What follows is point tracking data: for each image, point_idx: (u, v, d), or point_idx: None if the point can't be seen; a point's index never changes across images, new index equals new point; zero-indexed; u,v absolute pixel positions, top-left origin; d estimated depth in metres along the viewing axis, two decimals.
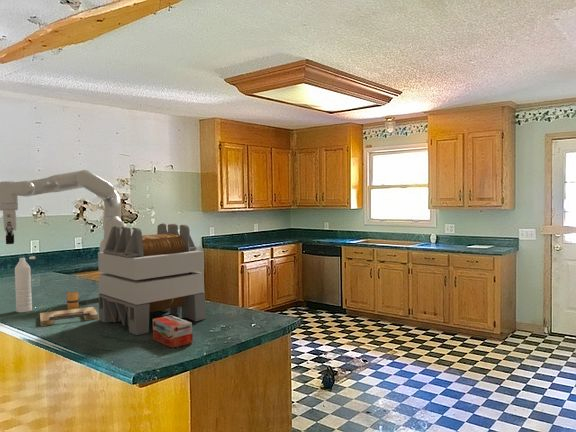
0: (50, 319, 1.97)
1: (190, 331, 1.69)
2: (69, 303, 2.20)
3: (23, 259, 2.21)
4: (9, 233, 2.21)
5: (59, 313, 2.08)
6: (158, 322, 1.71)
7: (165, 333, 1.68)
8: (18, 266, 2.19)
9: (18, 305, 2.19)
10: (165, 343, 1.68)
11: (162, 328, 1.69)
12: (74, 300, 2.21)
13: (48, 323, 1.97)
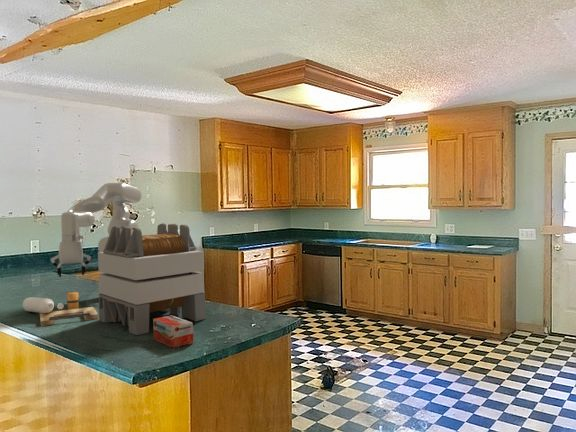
0: (50, 319, 1.97)
1: (191, 331, 1.69)
2: (69, 303, 2.20)
3: (50, 308, 2.05)
4: (87, 263, 2.25)
5: (59, 313, 2.08)
6: (159, 322, 1.71)
7: (166, 332, 1.68)
8: (42, 309, 2.06)
9: (25, 308, 2.17)
10: (166, 343, 1.68)
11: (162, 328, 1.69)
12: (74, 300, 2.21)
13: (48, 323, 1.97)
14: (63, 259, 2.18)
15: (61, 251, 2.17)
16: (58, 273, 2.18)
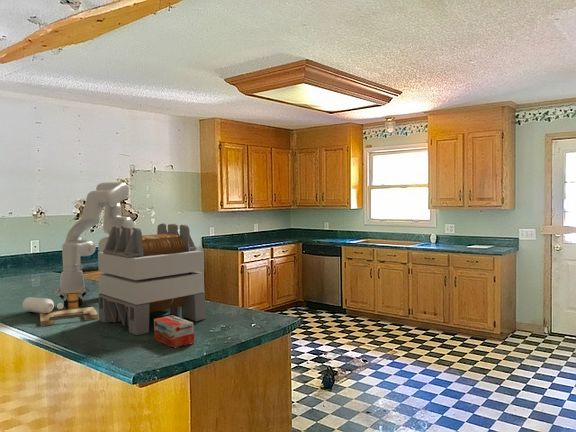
0: (50, 319, 1.97)
1: (191, 331, 1.69)
2: (69, 303, 2.20)
3: (50, 308, 2.05)
4: None
5: (59, 313, 2.08)
6: (159, 322, 1.71)
7: (166, 332, 1.68)
8: (42, 309, 2.06)
9: (25, 308, 2.17)
10: (166, 343, 1.68)
11: (163, 328, 1.69)
12: (74, 300, 2.20)
13: (48, 323, 1.97)
14: (64, 289, 2.19)
15: (62, 282, 2.18)
16: (65, 305, 2.20)
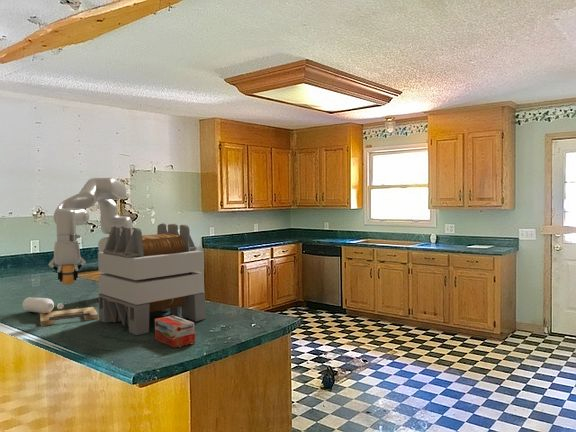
0: (50, 319, 1.97)
1: (192, 331, 1.69)
2: (63, 275, 2.02)
3: (50, 308, 2.05)
4: (80, 267, 2.06)
5: (59, 313, 2.08)
6: (160, 322, 1.71)
7: (167, 332, 1.68)
8: (42, 309, 2.06)
9: (25, 308, 2.17)
10: (167, 343, 1.68)
11: (164, 328, 1.69)
12: (68, 272, 2.02)
13: (48, 323, 1.97)
14: (58, 260, 2.00)
15: (56, 252, 2.00)
16: (59, 278, 2.02)
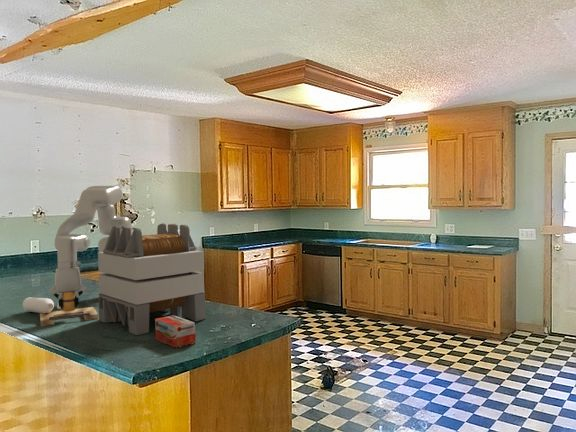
0: (50, 319, 1.97)
1: (193, 331, 1.69)
2: (64, 302, 2.02)
3: (50, 308, 2.05)
4: None
5: (59, 313, 2.08)
6: (161, 322, 1.71)
7: (168, 332, 1.68)
8: (42, 309, 2.06)
9: (25, 308, 2.17)
10: (168, 343, 1.68)
11: (165, 328, 1.69)
12: (69, 299, 2.02)
13: (48, 323, 1.97)
14: (59, 288, 2.01)
15: (57, 279, 2.00)
16: (59, 305, 2.02)
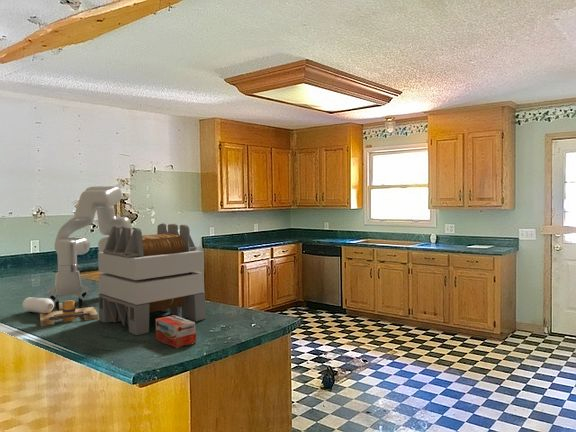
0: (50, 319, 1.97)
1: (193, 331, 1.69)
2: (65, 312, 2.02)
3: (50, 308, 2.05)
4: None
5: (59, 313, 2.08)
6: (161, 322, 1.71)
7: (168, 332, 1.68)
8: (42, 309, 2.06)
9: (25, 308, 2.17)
10: (168, 343, 1.68)
11: (165, 328, 1.69)
12: (70, 309, 2.03)
13: (48, 323, 1.97)
14: (60, 291, 2.01)
15: (57, 282, 2.00)
16: (56, 307, 2.02)
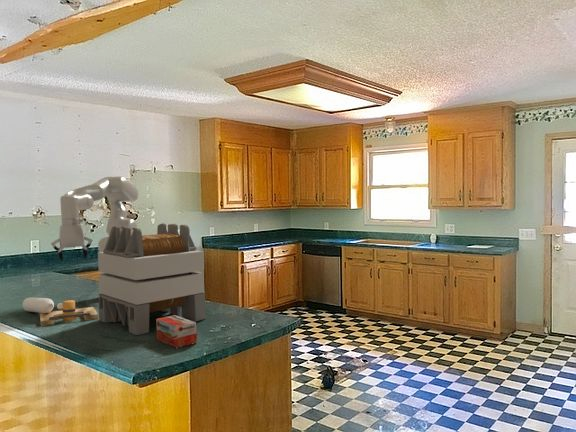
0: (50, 319, 1.97)
1: (194, 331, 1.69)
2: (65, 312, 2.02)
3: (50, 308, 2.05)
4: None
5: (59, 313, 2.08)
6: (162, 322, 1.71)
7: (169, 332, 1.68)
8: (42, 309, 2.06)
9: (25, 308, 2.17)
10: (169, 343, 1.68)
11: (166, 328, 1.69)
12: (70, 309, 2.03)
13: (48, 323, 1.97)
14: (64, 243, 2.14)
15: (62, 235, 2.14)
16: (59, 257, 2.15)
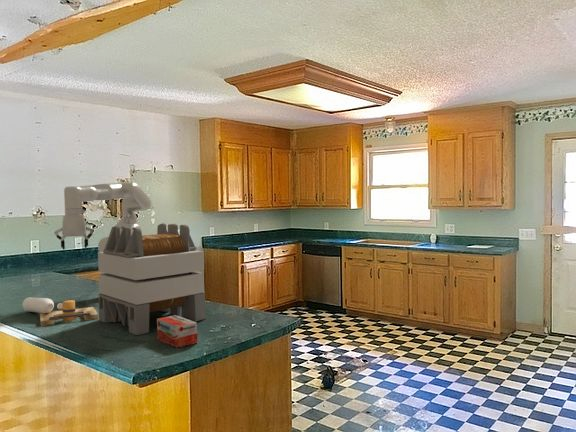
0: (50, 319, 1.97)
1: (195, 331, 1.69)
2: (65, 312, 2.02)
3: (50, 308, 2.05)
4: (90, 236, 2.31)
5: (59, 313, 2.08)
6: (163, 322, 1.71)
7: (170, 332, 1.68)
8: (42, 309, 2.06)
9: (25, 308, 2.17)
10: (170, 343, 1.68)
11: (166, 328, 1.69)
12: (70, 309, 2.03)
13: (48, 323, 1.97)
14: (66, 232, 2.24)
15: (64, 224, 2.23)
16: (62, 246, 2.24)
